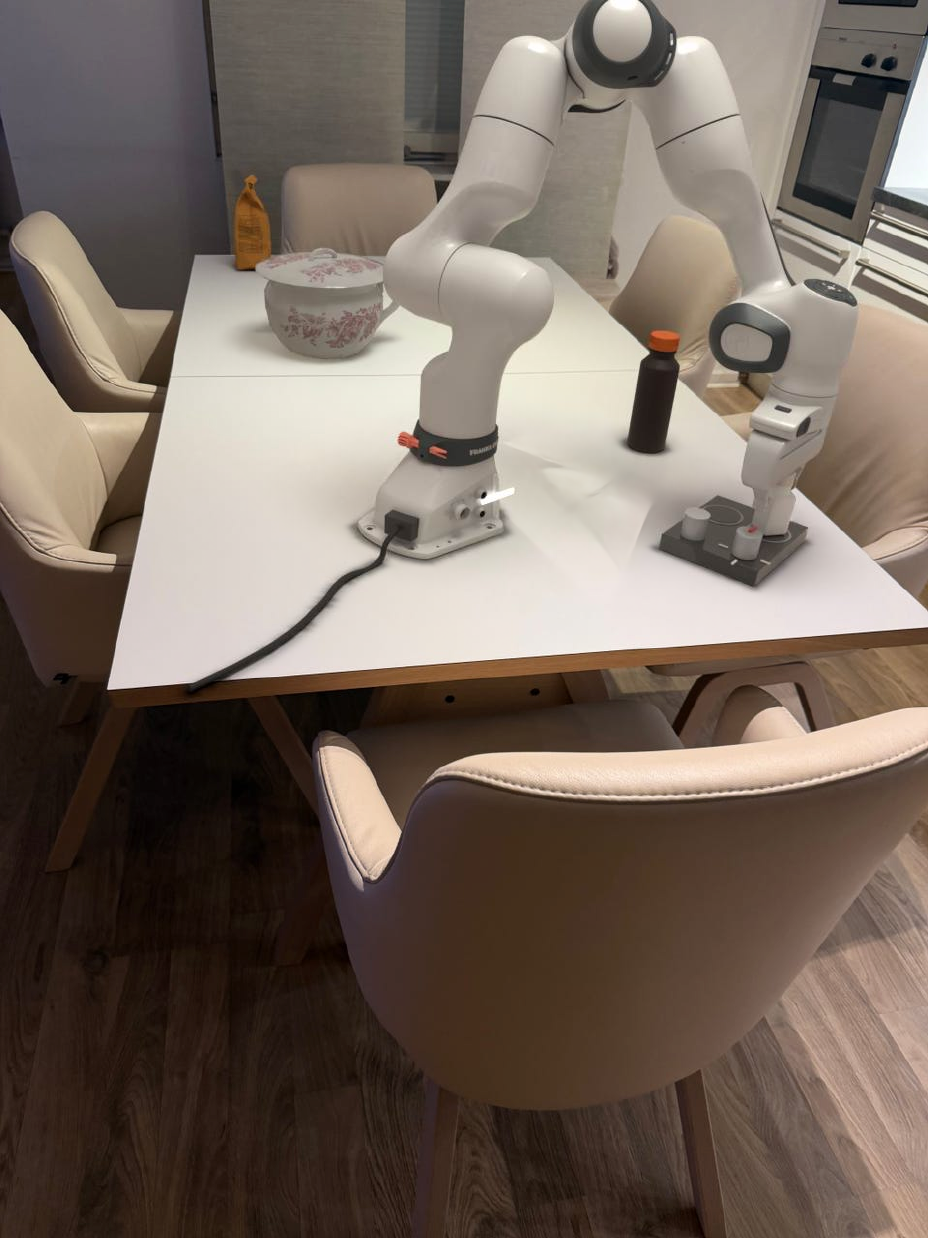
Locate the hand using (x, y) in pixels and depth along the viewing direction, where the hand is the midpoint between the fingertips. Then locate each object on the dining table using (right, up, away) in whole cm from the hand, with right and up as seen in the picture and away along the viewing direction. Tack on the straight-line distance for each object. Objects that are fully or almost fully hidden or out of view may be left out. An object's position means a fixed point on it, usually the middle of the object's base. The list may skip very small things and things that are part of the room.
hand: (773, 498), depth 137 cm
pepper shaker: (0, -4, +4) cm, 6 cm away
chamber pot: (-74, +40, +67) cm, 108 cm away
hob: (-5, -6, +5) cm, 9 cm away
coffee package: (-101, +78, +120) cm, 175 cm away
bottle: (-12, +14, +34) cm, 38 cm away
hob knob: (-5, -8, -3) cm, 10 cm away
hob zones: (-4, -4, +3) cm, 7 cm away
